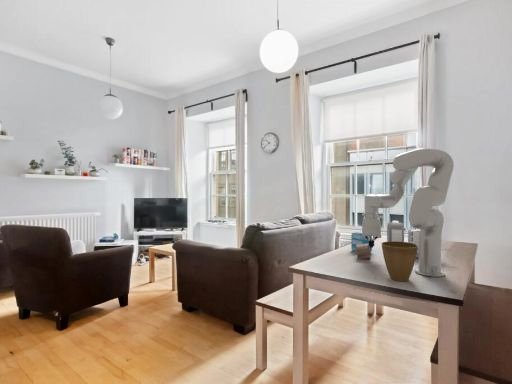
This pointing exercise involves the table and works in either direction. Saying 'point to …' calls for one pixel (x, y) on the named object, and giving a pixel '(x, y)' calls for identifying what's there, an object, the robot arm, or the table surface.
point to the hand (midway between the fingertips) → (371, 247)
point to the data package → (358, 240)
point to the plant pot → (399, 259)
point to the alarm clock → (395, 231)
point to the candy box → (414, 239)
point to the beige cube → (363, 251)
